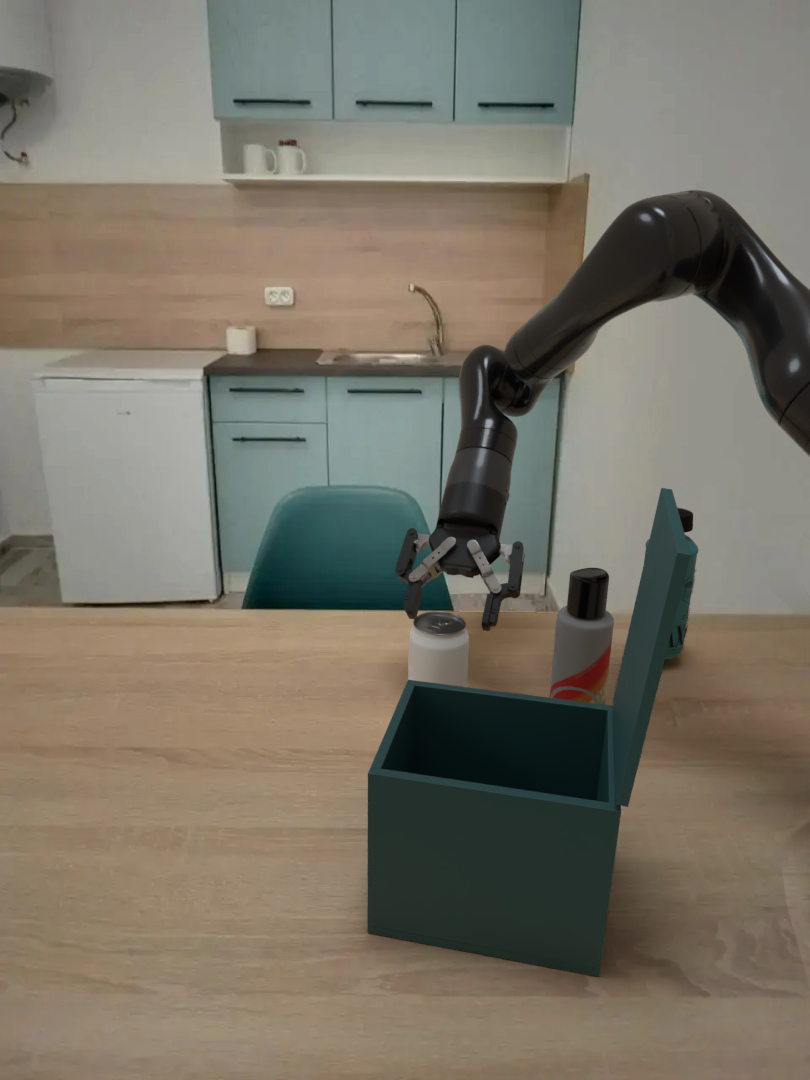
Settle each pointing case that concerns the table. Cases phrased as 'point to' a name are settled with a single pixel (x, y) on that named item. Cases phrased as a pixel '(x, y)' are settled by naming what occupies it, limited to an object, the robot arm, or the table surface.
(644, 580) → the lid
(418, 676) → the can
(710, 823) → the table surface
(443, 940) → the dark teal storage box
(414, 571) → the robot arm
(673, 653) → the beverage bottle
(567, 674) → the lotion bottle
